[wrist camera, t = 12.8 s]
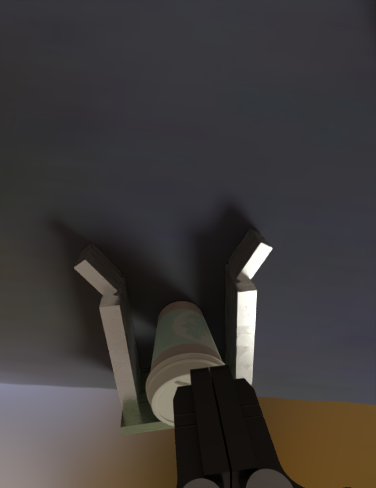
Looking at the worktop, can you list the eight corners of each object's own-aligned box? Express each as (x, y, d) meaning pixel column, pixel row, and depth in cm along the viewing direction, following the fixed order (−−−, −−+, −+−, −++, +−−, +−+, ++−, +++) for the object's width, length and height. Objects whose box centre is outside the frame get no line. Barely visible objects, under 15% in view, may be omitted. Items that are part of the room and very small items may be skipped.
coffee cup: (225, 323, 40) (251, 404, 29) (172, 353, 41) (179, 442, 31) (189, 279, 37) (205, 354, 26) (133, 314, 38) (125, 399, 27)
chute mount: (260, 226, 35) (289, 259, 27) (253, 362, 44) (273, 414, 37) (80, 243, 33) (60, 282, 26) (112, 380, 42) (104, 437, 35)
